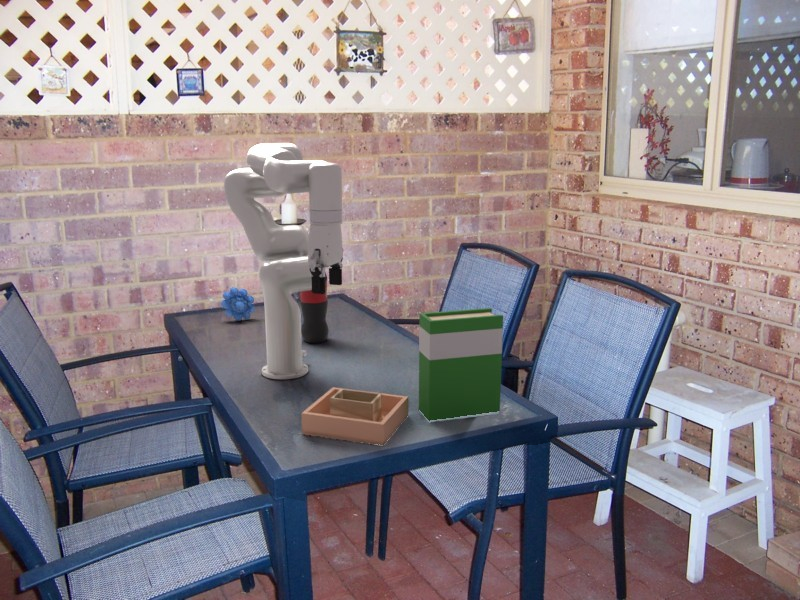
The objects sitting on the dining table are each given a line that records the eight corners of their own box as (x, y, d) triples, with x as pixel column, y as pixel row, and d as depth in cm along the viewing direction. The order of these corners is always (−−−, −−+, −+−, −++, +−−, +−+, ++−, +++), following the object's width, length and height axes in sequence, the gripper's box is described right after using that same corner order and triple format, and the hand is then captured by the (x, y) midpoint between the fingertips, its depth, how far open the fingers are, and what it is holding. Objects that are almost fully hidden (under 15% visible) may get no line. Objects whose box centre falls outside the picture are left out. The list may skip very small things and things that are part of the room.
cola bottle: (329, 336, 235) (327, 243, 227) (327, 344, 226) (325, 248, 219) (302, 336, 234) (300, 243, 227) (300, 344, 226) (297, 248, 219)
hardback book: (487, 402, 180) (490, 307, 174) (499, 414, 173) (503, 315, 167) (418, 410, 175) (419, 313, 169) (428, 422, 168) (430, 321, 162)
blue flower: (224, 325, 247) (222, 290, 244) (220, 320, 253) (218, 286, 250) (258, 322, 251) (257, 287, 248) (254, 317, 257) (252, 283, 254)
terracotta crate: (333, 406, 177) (332, 387, 176) (408, 416, 171) (408, 396, 170) (302, 434, 161) (301, 413, 160) (383, 446, 156) (383, 424, 154)
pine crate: (341, 412, 171) (341, 388, 169) (382, 418, 168) (382, 393, 166) (330, 423, 165) (329, 398, 163) (372, 429, 162) (372, 403, 160)
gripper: (326, 211, 179) (327, 280, 183) (294, 221, 163) (296, 295, 168) (355, 213, 177) (355, 282, 181) (325, 222, 161) (326, 298, 165)
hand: (327, 288), depth 174 cm, fingers open, 9 cm apart
